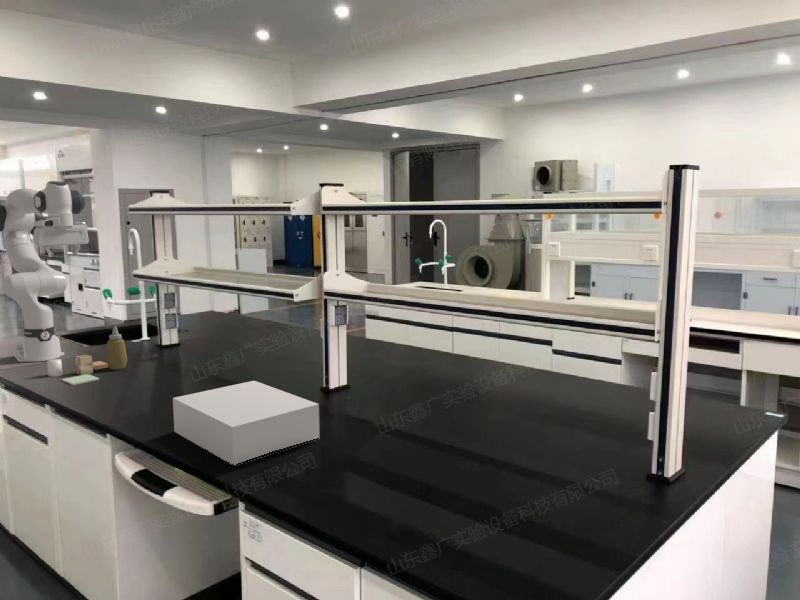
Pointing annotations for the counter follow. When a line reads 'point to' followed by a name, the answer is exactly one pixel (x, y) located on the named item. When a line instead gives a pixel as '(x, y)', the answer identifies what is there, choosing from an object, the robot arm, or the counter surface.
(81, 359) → the maple block
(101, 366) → the terracotta tile
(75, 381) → the mat
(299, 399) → the box
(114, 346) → the squeeze bottle
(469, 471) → the counter surface
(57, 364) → the white rounded dome
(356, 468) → the counter surface
